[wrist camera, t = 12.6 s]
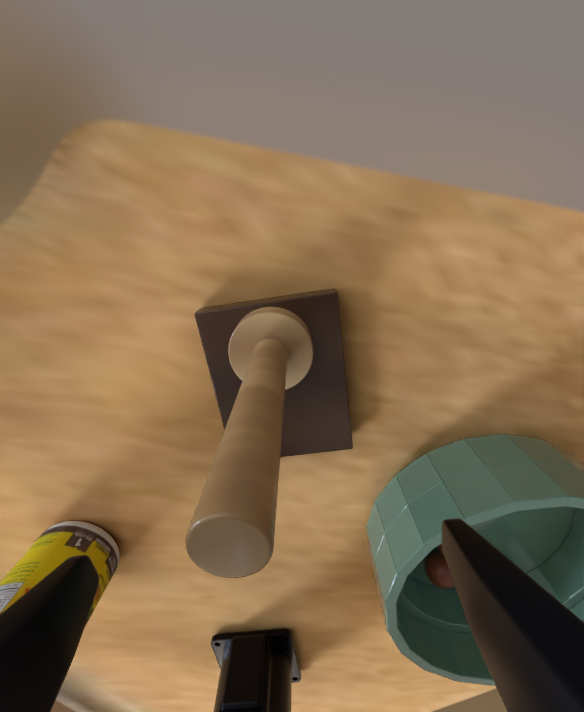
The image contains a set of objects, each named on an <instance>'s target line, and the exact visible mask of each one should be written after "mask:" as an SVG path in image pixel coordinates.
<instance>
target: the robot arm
mask: <svg viewBox="0 0 584 712" xmlns="http://www.w3.org/2000/svg"><path fill="white" fill-rule="evenodd" d="M442 550H443V554H444V557H445V559H446V562H447V565H448V568H449V571H450V574H451V576H452V579H453V582H454V585H455V588H456V591H457V593H458V596H459V599H460V602H461V605H462V608H463V610H464V613H465V616H466V619H467V622H468V624H469V627H470V630H471V632H472V634H473V636H474V639H475V641H476V643H477V646H478V648H479V650H480V652H481V654H482V657H483V659H484V661H485V663H486V665H487V667H488V670H489V672H490V674H491V676H492V678H493V681H494V683H495V685H496V687H497V689H498V692H499V694H500V696H501V698H502V700H503V702H504V705H505V707H506V709H507V711H508V712H584V622H583V621H582V620H581V619H579V618H578V617H577V616H576V615H575V614H574V613H572V612H571V611H570V610H569V609H568V608H566V607H565V606H564V605H563V604H562V603H560V602H559V601H558V600H557V599H556V598H555V597H553V596H552V595H551V594H550V593H549V592H547V591H546V590H545V589H544V588H543V587H542V586H540V585H539V584H538V583H537V582H536V581H534V580H533V579H532V578H531V577H530V576H528V575H527V574H526V573H525V572H524V571H523V570H521V569H520V568H519V567H518V566H517V565H515V564H514V563H513V562H512V561H511V560H510V559H508V558H507V557H506V556H505V555H504V554H502V553H501V552H500V551H499V550H498V549H496V548H495V547H494V546H493V545H492V544H491V543H489V542H488V541H487V540H486V539H485V538H483V537H482V536H481V535H480V534H479V533H478V532H476V531H475V530H474V529H473V528H472V527H470V526H469V525H468V524H467V523H466V522H465V521H463V520H462V519H459V518H455V519H445V520H443V522H442ZM99 580H100V578H99V574H98V572H97V570H96V568H95V566H94V564H93V563H92V561H91V559H90V557H89V556H87V555H77V556H72V557H69V558H68V559H66V560H65V561H64V562H63V563H62V564H60V565H59V566H58V567H57V568H55V569H54V570H53V571H52V572H51V573H49V574H48V575H47V576H46V577H45V578H43V579H42V580H41V581H40V582H39V583H37V584H36V585H35V586H34V587H33V588H31V589H30V590H29V591H28V592H27V593H25V594H24V595H23V596H22V597H21V598H19V599H18V600H17V601H16V602H14V603H13V604H12V605H11V606H10V607H8V608H7V609H6V610H5V611H4V612H2V613H1V614H0V712H50V711H51V709H52V706H53V704H54V702H55V700H56V698H57V695H58V693H59V691H60V688H61V686H62V684H63V681H64V679H65V677H66V675H67V672H68V670H69V667H70V665H71V663H72V660H73V658H74V655H75V652H76V650H77V647H78V644H79V641H80V638H81V636H82V633H83V630H84V627H85V624H86V621H87V618H88V615H89V613H90V610H91V607H92V604H93V601H94V598H95V595H96V592H97V590H98V586H99ZM211 645H212V648H213V651H214V653H215V656H216V658H217V661H218V664H219V666H220V669H221V672H220V678H219V684H218V690H217V695H216V701H215V707H214V712H291V683H293V682H299V681H300V680H301V672H300V667H299V663H298V659H297V655H296V651H295V646H294V642H293V638H292V634H291V631H289V630H287V629H281V630H268V631H256V632H243V633H230V634H218V635H214V636H213V637H212V641H211Z"/></svg>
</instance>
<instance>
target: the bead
mask: <svg viewBox="0 0 584 712" xmlns="http://www.w3.org/2000/svg"><path fill="white" fill-rule="evenodd" d="M424 567H425V572H426V575H427V577H428V579H429V580H430V581H431V582H432V583H433V584H434V585H435V586H437V587H439V588H442V589H448V588H451V587H453V586H454V582H453V579H452V576H451V574H450V571H449V568H448V565H447V562H446V559H445V557H444V554H443V553H442V552H433V553H431V554H429V555H428V557H427V558H426V560H425V565H424Z"/></svg>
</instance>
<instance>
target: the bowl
mask: <svg viewBox="0 0 584 712" xmlns="http://www.w3.org/2000/svg"><path fill="white" fill-rule="evenodd" d="M455 518H459V519H462V520H463V521H465V522H466V523H467V524H468V525H469V526H470V527H472V528H473V529H474V530H475V531H476V532H478V533H479V534H480V535H481V536H482V537H483V538H485V539H486V540H487V541H488V542H489V543H491V544H492V545H493V546H494V547H495V548H496V549H498V550H499V551H500V552H501V553H502V554H504V555H505V556H506V557H507V558H508V559H510V560H511V561H512V562H513V563H514V564H515V565H517V566H518V567H519V568H520V569H521V570H523V571H524V572H525V573H526V574H527V575H528V576H530V577H531V578H532V579H533V580H534V581H536V582H537V583H538V584H539V585H540V586H542V587H543V588H544V589H545V590H546V591H547V592H549V593H550V594H551V595H552V596H553V597H555V598H556V599H557V600H558V601H559V602H560V603H562V604H563V605H564V606H565V607H566V608H568V609H569V610H570V611H571V612H572V613H574V614H575V615H576V616H577V617H578V618H579V619H581V620H582V621H583V622H584V464H583V463H582V462H581V461H579V460H578V459H577V458H576V457H574V456H573V455H572V454H570V453H568V452H566V451H564V450H562V449H560V448H558V447H556V446H554V445H552V444H550V443H549V442H547V441H545V440H542V439H536V438H530V437H523V436H517V435H510V434H498V435H489V436H480V437H472V438H465V439H462V440H459V441H456V442H453V443H449V444H446V445H444V446H441V447H438V448H436V449H434V450H432V451H430V452H427V453H425V454H424V455H422V456H420V457H419V458H417V459H416V460H414V461H413V462H411V463H410V464H409V465H408V466H406V467H405V468H404V469H403V470H401V471H400V472H398V473H397V475H395V476H394V477H393V478H392V479H391V481H390V482H389V483H388V485H387V486H386V487H385V488H384V490H383V491H382V492H381V493H380V495H379V496H378V497H377V498H376V500H375V502H374V505H373V508H372V511H371V514H370V517H369V520H368V523H367V537H368V548H369V554H370V559H371V563H372V567H373V572H374V576H375V581H376V585H377V590H378V594H379V598H380V603H381V607H382V612H383V616H384V620H385V625H386V629H387V631H388V633H389V634H390V636H391V637H392V639H393V641H394V642H395V644H396V646H397V647H398V649H399V650H400V652H401V653H402V654H403V655H404V656H406V657H407V658H408V659H410V660H411V661H413V662H414V663H415V664H417V665H418V666H419V667H421V668H422V669H424V670H426V671H428V672H431V673H434V674H437V675H440V676H443V677H446V678H448V679H451V680H454V681H458V682H466V683H475V684H483V685H492V686H493V685H494V686H496V685H495V683H494V681H493V678H492V676H491V674H490V672H489V670H488V667H487V665H486V663H485V661H484V659H483V657H482V654H481V652H480V650H479V648H478V646H477V643H476V641H475V639H474V636H473V634H472V632H471V630H470V627H469V624H468V622H467V619H466V616H465V613H464V610H463V608H462V605H461V602H460V599H459V596H458V593H457V591H456V588H455V585H454V586H453V587H451V588H448V589H442V588H439V587H437V586H435V585H434V584H433V583H432V582H431V581H430V580H429V579H428V577H427V575H426V572H425V567H424V565H425V560H426V558H427V557H428V555H429V554H431V553H433V552H441V551H440V550H439V548H438V546H439V545H440V544H442V522H443V520H445V519H455Z"/></svg>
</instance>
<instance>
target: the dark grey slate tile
mask: <svg viewBox="0 0 584 712" xmlns="http://www.w3.org/2000/svg"><path fill="white" fill-rule="evenodd" d="M264 307H279V308H283V309H286V310H289V311H291V312H293V313H294V314H296V315H297V316H298V317H299V318H301V319H302V321H303V322H304V323H305V324H306V326H307V327H308V329H309V331H310V334H311V338H312V344H313V361H312V365H311V367H310V369H309V371H308V373H307V374H306V376H305V377H304V378H303V379H302V380H301V381H300V382H299V383H298V384H296V385H295V386H293V387H291V388H289V389H286V390H285V399H284V412H283V426H282V439H281V453H280V457H285V456H294V455H303V454H311V453H320V452H329V451H337V450H346V449H352V448H353V445H352V435H351V425H350V415H349V405H348V395H347V384H346V374H345V364H344V354H343V344H342V334H341V324H340V314H339V304H338V294H337V292H336V290H335V289H326V290H320V291H313V292H306V293H299V294H293V295H286V296H279V297H272V298H265V299H259V300H252V301H245V302H238V303H232V304H225V305H218V306H211V307H204V308H201V309H199V310H198V311H197V312H196V313H195V318H196V322H197V326H198V330H199V333H200V337H201V341H202V345H203V349H204V352H205V356H206V360H207V364H208V368H209V372H210V375H211V379H212V383H213V387H214V391H215V395H216V398H217V402H218V406H219V410H220V414H221V418H222V421H223V425H224V429H225V428H226V425H227V422H228V419H229V417H230V414H231V411H232V409H233V406H234V403H235V400H236V398H237V395H238V392H239V389H240V387H241V384H242V380H241V379H240V378H239V377H238V376H237V374H236V373H235V372H234V370H233V368H232V366H231V363H230V360H229V354H228V347H229V341H230V338H231V336H232V333H233V332H234V330H235V329H236V327H237V325H238V324H239V322H240V321H241V320H242V319H243V318H244V317H245V316H246V315H248V314H249V313H250V312H252V311H254V310H257V309H260V308H264Z"/></svg>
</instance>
